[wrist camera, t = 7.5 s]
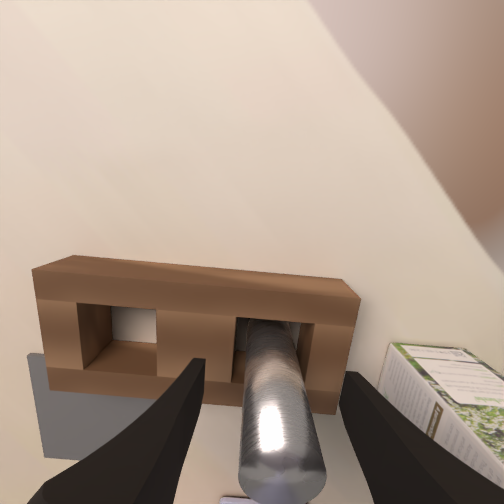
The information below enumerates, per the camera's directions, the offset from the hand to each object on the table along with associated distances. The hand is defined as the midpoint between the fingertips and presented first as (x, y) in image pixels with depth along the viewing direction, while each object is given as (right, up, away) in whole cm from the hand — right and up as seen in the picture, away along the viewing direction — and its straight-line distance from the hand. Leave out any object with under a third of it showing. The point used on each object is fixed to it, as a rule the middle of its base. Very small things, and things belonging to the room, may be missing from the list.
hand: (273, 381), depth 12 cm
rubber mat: (-13, -6, +7) cm, 16 cm away
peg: (0, +1, +5) cm, 5 cm away
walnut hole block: (-4, +2, +5) cm, 7 cm away
